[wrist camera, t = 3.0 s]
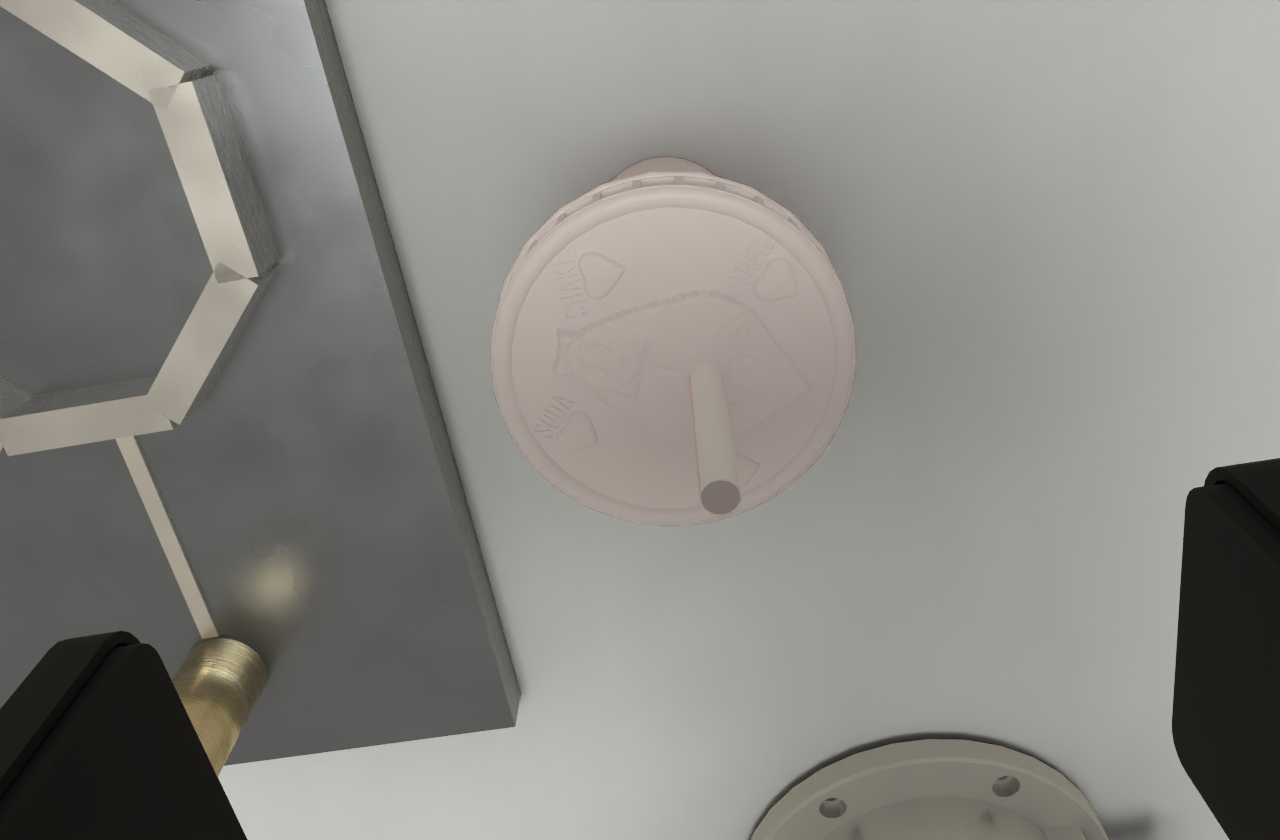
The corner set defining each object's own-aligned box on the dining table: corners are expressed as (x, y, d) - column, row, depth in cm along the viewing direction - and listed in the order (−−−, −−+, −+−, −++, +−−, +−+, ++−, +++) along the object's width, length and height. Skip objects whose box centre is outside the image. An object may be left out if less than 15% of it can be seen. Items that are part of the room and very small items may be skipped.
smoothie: (763, 362, 28) (859, 710, 15) (528, 328, 27) (422, 655, 15) (814, 121, 25) (982, 296, 12) (555, 81, 25) (454, 218, 12)
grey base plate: (280, -154, 23) (175, -184, 18) (520, 694, 32) (497, 828, 27) (-370, -17, 24) (-640, -9, 19) (50, 758, 34) (-55, 898, 29)
